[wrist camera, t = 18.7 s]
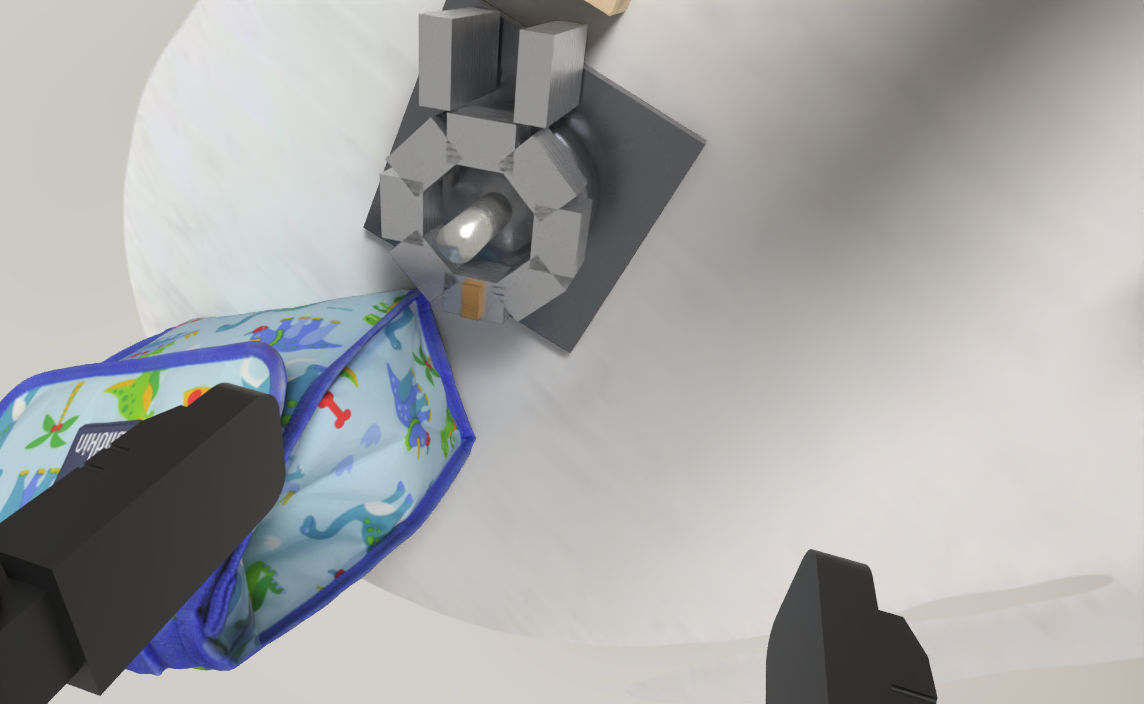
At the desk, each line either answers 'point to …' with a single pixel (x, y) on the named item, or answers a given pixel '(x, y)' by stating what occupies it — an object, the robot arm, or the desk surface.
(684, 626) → the desk surface
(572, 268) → the grey cube ring
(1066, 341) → the desk surface
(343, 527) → the lunch bag
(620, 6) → the holder
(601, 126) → the chuck base
